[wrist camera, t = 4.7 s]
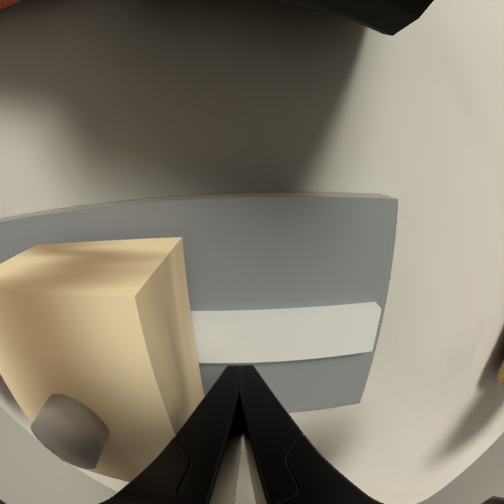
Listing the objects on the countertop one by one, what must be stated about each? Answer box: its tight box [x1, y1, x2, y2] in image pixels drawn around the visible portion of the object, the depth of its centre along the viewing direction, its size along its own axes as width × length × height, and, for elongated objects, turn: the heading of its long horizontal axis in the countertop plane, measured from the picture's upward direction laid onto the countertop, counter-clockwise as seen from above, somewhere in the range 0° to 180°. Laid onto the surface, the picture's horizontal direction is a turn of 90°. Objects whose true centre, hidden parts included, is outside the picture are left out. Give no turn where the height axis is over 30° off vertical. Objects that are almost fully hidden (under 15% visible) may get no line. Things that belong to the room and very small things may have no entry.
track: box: [0, 192, 398, 413], centre depth 8 cm, size 26×10×6 cm, turn 91°
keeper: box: [0, 237, 205, 482], centre depth 7 cm, size 6×8×5 cm
